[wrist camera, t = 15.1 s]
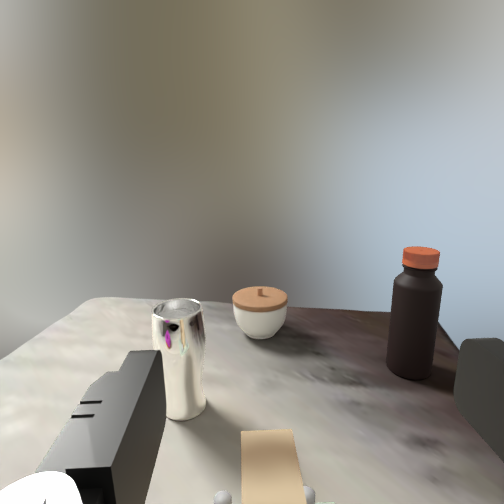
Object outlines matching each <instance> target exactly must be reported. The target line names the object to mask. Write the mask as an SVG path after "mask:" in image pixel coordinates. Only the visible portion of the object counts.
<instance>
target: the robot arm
mask: <svg viewBox="0 0 504 504" xmlns="http://www.w3.org/2000/svg"><path fill="white" fill-rule="evenodd" d="M454 399H455V403H456V405H457V408H458V410H459V412H460V413H461V414H462V416H463V417H464V418H465V419H466V420H467V421H468V423H469V424H470V425H471V426H472V427H473V428H474V429H475V430H476V432H477V433H478V434H479V435H480V436H481V437H482V438H483V439H484V441H485V442H486V443H487V444H488V445H489V446H490V447H491V448H492V450H493V451H494V452H495V453H496V454H497V455H498V456H499V458H500V459H501V460H502V461H503V462H504V342H503V341H502V340H500V339H498V338H476V339H466V340H464V341H463V342H462V344H461V346H460V352H459V358H458V364H457V371H456V377H455V384H454ZM166 409H167V405H166V391H165V381H164V370H163V359H162V353H161V351H160V350H141V351H130V352H129V353H128V355H127V357H126V358H125V360H124V362H123V364H122V366H121V368H120V369H119V371H117V372H107V373H105V374H104V375H103V376H102V377H100V378H99V379H98V380H97V381H95V382H94V383H93V384H92V385H90V387H89V388H88V390H87V392H86V393H85V395H84V396H83V398H82V399H81V401H80V404H79V405H78V406H77V407H76V409H75V410H74V412H73V414H72V417H71V419H69V420H68V421H67V423H66V424H65V426H64V428H63V429H62V431H61V432H60V434H59V435H58V437H57V439H56V440H55V442H54V443H53V445H52V446H51V448H50V450H49V451H48V453H47V454H46V456H45V457H44V459H43V461H42V462H41V464H40V465H39V467H38V468H37V470H36V471H35V473H34V475H32V476H28V477H26V478H24V479H21V480H19V481H17V482H15V483H14V484H12V485H10V486H8V487H7V488H5V489H4V490H2V491H1V492H0V504H145V500H146V496H147V492H148V489H149V485H150V481H151V477H152V473H153V469H154V466H155V462H156V458H157V454H158V450H159V447H160V443H161V439H162V435H163V431H164V427H165V422H166Z"/></svg>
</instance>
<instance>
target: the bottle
mask: <svg viewBox="0 0 504 504" xmlns="http://www.w3.org/2000/svg"><path fill="white" fill-rule="evenodd" d="M439 256H440V252H439V251H438V250H435V249H432V248H427V247H407V248H404V251H403V260H402V263H403V264H402V265H403V267H404V272H402V273H401V274H399V275H398V276H397V277H396V278H395V280H394V285H393V295H392V306H391V316H390V326H389V336H388V347H387V357H386V363H387V367H388V368H389V369H390V370H391V371H392V372H393V373H395V374H396V375H398V376H401V377H403V378H407V379H413V380H419V379H424V378H427V377H428V376H429V375H430V374H431V369H432V362H433V355H434V347H435V340H436V332H437V325H438V317H439V310H440V303H441V295H442V288H443V285H442V283H441V282H440V281H439V280H438V278H437V277H436V276H435V271H436V270H437V267H438V264H439Z"/></svg>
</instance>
